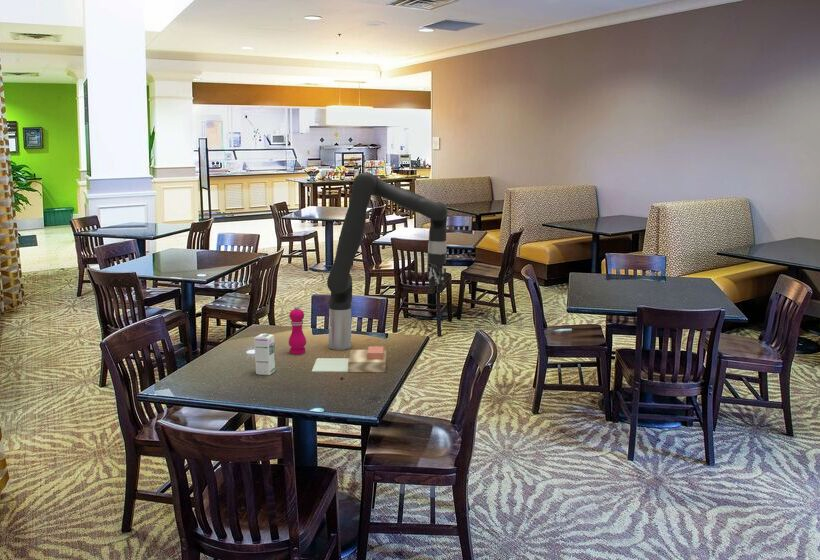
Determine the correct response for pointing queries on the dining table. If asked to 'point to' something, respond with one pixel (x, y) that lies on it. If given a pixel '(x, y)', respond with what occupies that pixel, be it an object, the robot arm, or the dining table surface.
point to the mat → (331, 365)
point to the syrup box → (265, 354)
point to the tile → (375, 352)
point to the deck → (365, 362)
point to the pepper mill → (297, 332)
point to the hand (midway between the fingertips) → (435, 290)
